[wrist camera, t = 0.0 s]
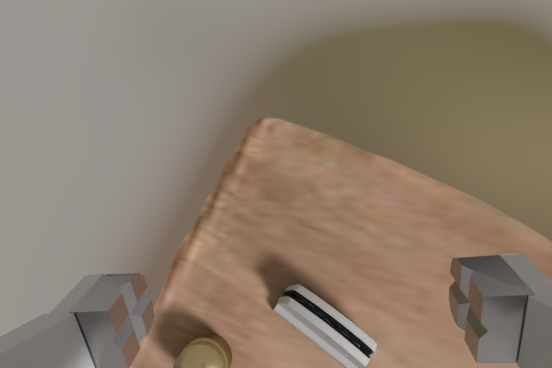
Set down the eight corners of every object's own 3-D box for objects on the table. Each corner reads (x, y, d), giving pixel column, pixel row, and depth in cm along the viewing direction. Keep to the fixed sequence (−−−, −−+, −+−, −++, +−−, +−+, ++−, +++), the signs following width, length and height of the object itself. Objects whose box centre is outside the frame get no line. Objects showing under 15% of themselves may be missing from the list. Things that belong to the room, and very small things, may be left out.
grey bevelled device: (271, 308, 63) (275, 303, 54) (287, 286, 64) (294, 277, 55) (352, 373, 60) (372, 379, 51) (367, 348, 62) (388, 349, 52)
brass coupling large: (242, 365, 62) (232, 382, 55) (202, 390, 63) (187, 410, 56) (218, 322, 64) (205, 334, 57) (179, 347, 64) (162, 361, 57)
